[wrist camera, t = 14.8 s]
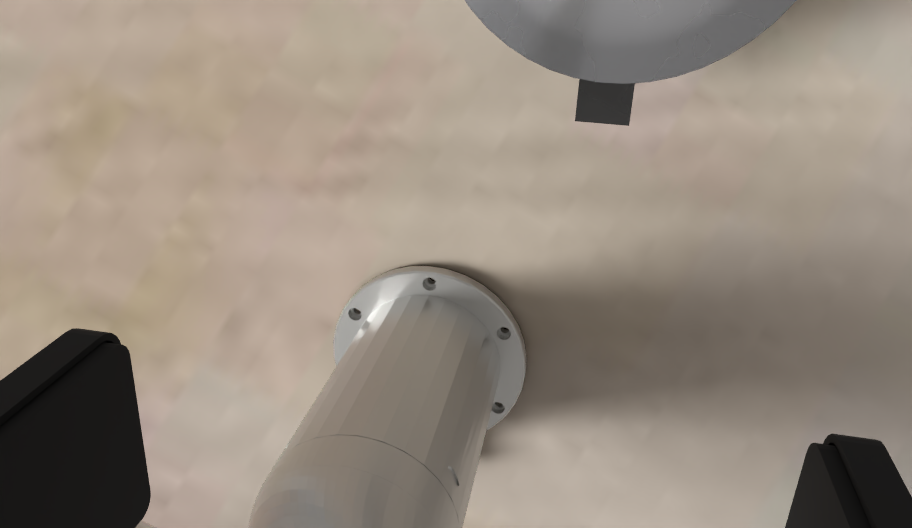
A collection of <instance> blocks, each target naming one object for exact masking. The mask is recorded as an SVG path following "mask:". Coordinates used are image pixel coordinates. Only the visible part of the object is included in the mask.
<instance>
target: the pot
mask: <svg viewBox="0 0 912 528" xmlns="http://www.w3.org/2000/svg"><path fill="white" fill-rule="evenodd" d="M634 85H635V83H628V84H619V83H601V82H594V81H589V80H584V79H580V80H579V90H578V99H577V108H576V117H575V121H581V122H593V123H604V124H616V125H628V126H629V121H630V114H631V107H632V100H633V92H634Z"/></svg>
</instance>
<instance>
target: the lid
mask: <svg viewBox="0 0 912 528" xmlns="http://www.w3.org/2000/svg"><path fill="white" fill-rule="evenodd" d="M465 1H466V3H467V4H468V6H469V7H470V9H471V10H472V11H473V12H474V13H475V14H476V16H477V17H478V18H479V19H480V20H481V21H482V22H483V24H484V25H485V26H486V27H487V28H488V29H489V30H490V31H491V32H493V33H494V34H495V35H496V36H497V37H498V38H499V39H501V40H502V41H503V42H504V43H505V44H506V45H508V46H509V47H511V48H512V49H514V50H515V51H517V52H518V53H520V54H521V55H523V56H524V57H526V58H527V59H529V60H531V61H533V62H535V63H537V64H539V65H541V66H543V67H545V68H547V69H549V70H552V71H555V72H558V73H561V74H564V75H567V76H570V77H573V78H578V79H584V80H589V81H594V82H601V83H619V84H628V83H642V82H652V81H657V80H662V79H667V78H672V77H677V76H680V75H683V74H685V73H688V72H691V71H694V70H697V69H700V68H703V67H705V66H707V65H709V64H711V63H714V62H716V61H718V60H720V59H722V58H724V57H726V56H728V55H730V54H731V53H733V52H735V51H736V50H738V49H739V48H741V47H742V46H744V45H746V44H747V43H749V42H750V41H752V40H753V39H755V38H756V37H757V36H758V35H760V34H761V33H762V32H763V31H765V30H766V29H767V28H768V27H769V26H771V25H772V24H773V23H774V22H776V21H777V20H778V19H779V18H780V17H781V16H782V15H783V14H784V13H785V12H786V11H787V10H788V9H789V8H790V7H791V6H792V5H793V3H794V2H795V1H796V0H465Z"/></svg>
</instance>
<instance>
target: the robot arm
mask: <svg viewBox="0 0 912 528" xmlns="http://www.w3.org/2000/svg"><path fill="white" fill-rule="evenodd" d="M429 278H432V279H434V280H435V281H431V280H430V279H429ZM357 309H358V310H359V311H358V310H357ZM502 327H505V328H508V330H505V329H503V328H502ZM333 344H334V359H335V363H336V368H335V369H334V371H333V373H332V374H331V376H330V377H329V379H328V381H327V382H326V384H325V385H324V387H323V388H322V390H321V392H320V393H319V395H318V396H317V398H316V400H315V401H314V403H313V404H312V406H311V408H310V409H309V411H308V412H307V414H306V416H305V417H304V419H303V420H302V422H301V424H300V425H299V427H298V428H297V430H296V432H295V433H294V435H293V436H292V438H291V440H290V441H289V443H288V444H287V446H286V448H285V449H284V451H283V452H282V454H281V456H280V457H279V459H278V460H277V462H276V464H275V465H274V467H273V468H272V470H271V472H270V473H269V475H268V477H267V478H266V480H265V482H264V483H263V485H262V487H261V489H260V491H259V493H258V495H257V497H256V500H255V503H254V506H253V509H252V513H251V516H250V521H249V528H462V527H463V523H464V519H465V515H466V511H467V507H468V503H469V499H470V494H471V490H472V486H473V482H474V478H475V474H476V470H477V466H478V462H479V458H480V454H481V450H482V446H483V442H484V438H485V434H486V431H487V430H489V429H491V428H492V427H494V426H495V425H496V424H498V423H499V422H500V421H501V420H502V419H503V418H505V417H506V415H507V414H508V413H509V412H510V410H511V409H512V408H513V406H514V405H515V403H516V401H517V399H518V397H519V395H520V393H521V391H522V387H523V383H524V378H525V372H526V361H527V358H526V350H525V342H524V340H523V337H522V334H521V331H520V328H519V326H518V324H517V322H516V321H515V319H514V317H513V315H512V314H511V312H510V310H509V309H508V308H507V307H506V306H505V305H504V304H503V302H502V301H501V300H500V299H499V298H498V297H497V296H496V295H495V294H494V293H492V292H491V291H490V290H489V289H487V288H486V287H485V286H484V285H482V284H480V283H479V282H477V281H475V280H473V279H471V278H469V277H468V276H466V275H463V274H460V273H457V272H454V271H451V270H449V269H444V268H438V267H432V266H409V267H404V268H399V269H394V270H390V271H388V272H386V273H383V274H381V275H379V276H376V277H375V278H373V279H372V280H370V281H369V282H367V283H366V284H364V285H363V286H362V287H361V288H360V289H359V290H358V291H357V292H356V293H355V294H354V295H353V296H352V297H351V299H350V300H349V302H348V303H347V304H346V306H345V307H344V309H343V311H342V313H341V315H340V318H339V320H338V322H337V324H336V329H335V334H334V340H333ZM498 402H499V403H498ZM149 503H150V485H149V478H148V472H147V465H146V458H145V452H144V445H143V438H142V432H141V425H140V418H139V412H138V405H137V398H136V392H135V385H134V378H133V372H132V365H131V358H130V353H129V350H128V349H127V347H126V346H124V345H121V343H120V340H119V339H118V337H117V336H116V335H114V334H112V333H107V332H100V331H92V330H85V329H71V330H69V331H67V332H65V333H64V334H63V335H61V336H60V337H59V338H57V339H56V340H55V341H53V342H52V343H51V344H49V345H48V346H47V347H45V348H44V349H43V350H41V351H40V352H38V353H37V354H36V355H34V356H33V357H32V358H30V359H29V360H28V361H26V362H25V363H24V364H22V365H21V366H20V367H18V368H17V369H16V370H14V371H13V372H12V373H10V374H9V375H8V376H6V377H5V378H3V379H2V380H1V381H0V528H156V527H154V526H152V525H150V524H148V523H145V522H143V521H141V520H142V519H143V517H144V515H145V514H146V511H147V509H148V506H149ZM785 528H912V497H911V495H910V493H909V491H908V489H907V488H906V486H905V484H904V482H903V480H902V478H901V476H900V474H899V472H898V470H897V469H896V467H895V465H894V463H893V461H892V459H891V457H890V455H889V453H888V452H887V450H886V448H885V446H884V445H883V444H882V442H881V441H878V440H873V439H866V438H859V437H852V436H845V435H838V434H830V435H828V436H827V438H826V439H825V441H824V443H823V444H819V443H812V444H811V445H810V446H809V448H808V450H807V453H806V456H805V460H804V463H803V467H802V470H801V474H800V477H799V481H798V484H797V488H796V491H795V495H794V498H793V502H792V505H791V509H790V512H789V516H788V520H787V523H786V527H785Z"/></svg>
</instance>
